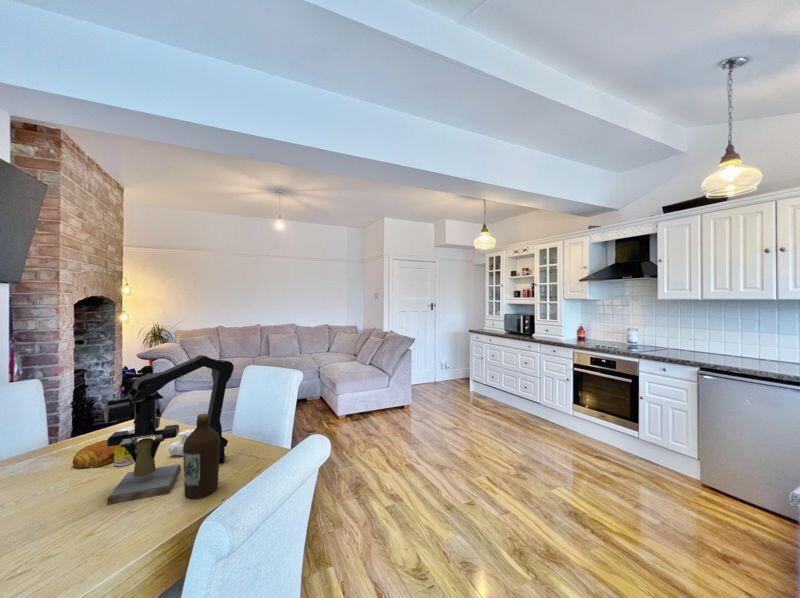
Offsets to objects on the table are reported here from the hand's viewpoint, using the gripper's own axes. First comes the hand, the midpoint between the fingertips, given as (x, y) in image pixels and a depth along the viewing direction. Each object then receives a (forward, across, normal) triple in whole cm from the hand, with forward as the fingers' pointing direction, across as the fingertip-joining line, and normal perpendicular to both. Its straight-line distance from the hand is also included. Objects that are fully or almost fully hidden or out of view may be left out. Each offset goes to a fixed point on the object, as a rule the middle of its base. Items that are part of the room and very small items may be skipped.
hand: (144, 460), depth 110 cm
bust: (+9, -8, -23) cm, 26 cm away
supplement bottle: (+9, +12, -23) cm, 27 cm away
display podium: (+9, -1, 0) cm, 9 cm away
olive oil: (+9, -18, +10) cm, 23 cm away
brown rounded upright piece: (+4, 0, 0) cm, 4 cm away
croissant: (+9, +22, -29) cm, 38 cm away
